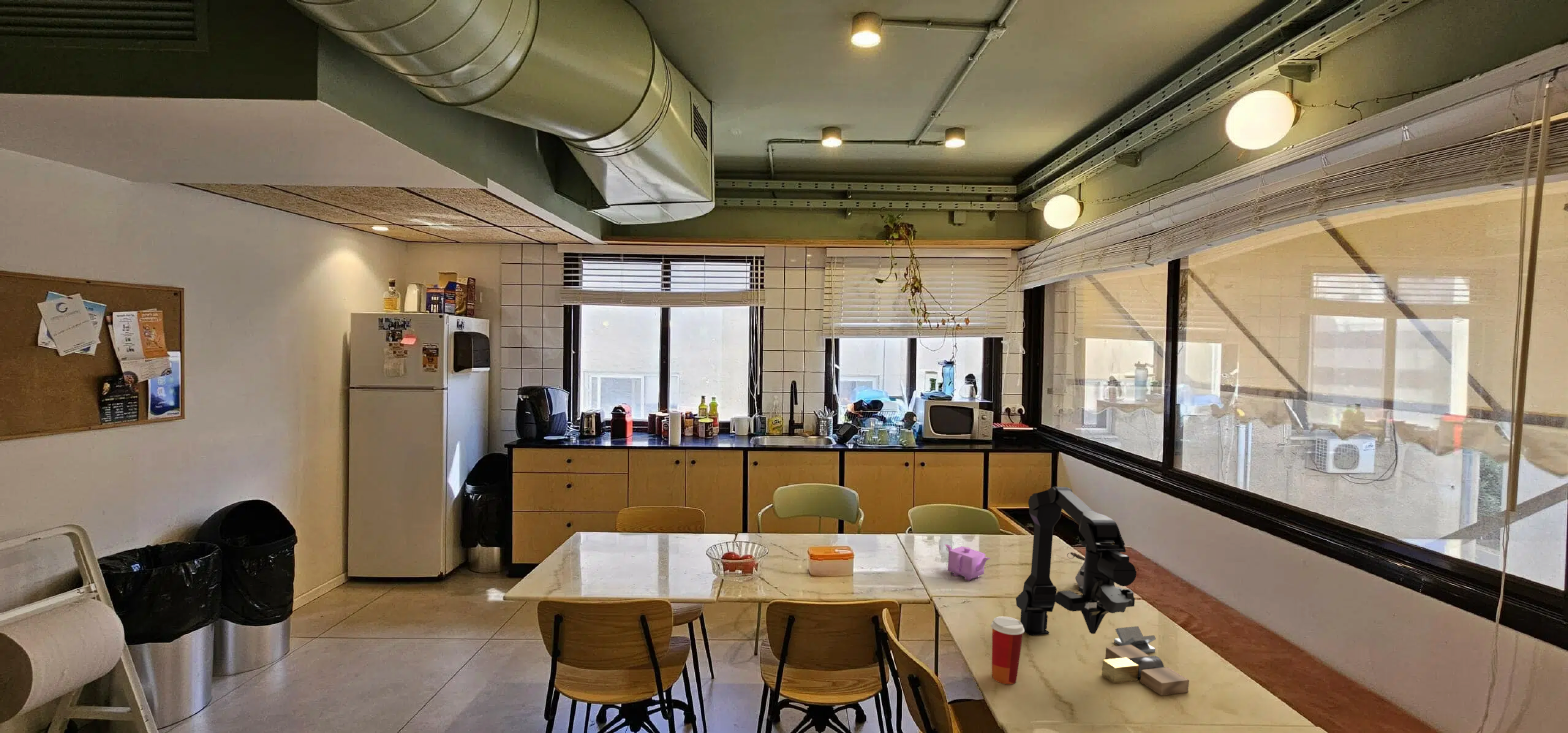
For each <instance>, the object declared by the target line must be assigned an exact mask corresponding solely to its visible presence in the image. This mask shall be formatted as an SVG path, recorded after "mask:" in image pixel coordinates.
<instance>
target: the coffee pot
mask: <svg viewBox="0 0 1568 733" xmlns="http://www.w3.org/2000/svg"><path fill="white" fill-rule="evenodd" d="M1069 554H1070V555H1071V556H1072V557H1069ZM1066 557H1067V558H1068V559H1071V560H1072V559H1074V558H1076V559H1078V560H1081V561H1084V562H1083V563H1082V565H1081V567H1080V569H1079V570H1078V571H1077V573H1076V575H1075V578H1074V579H1075V582H1076V584H1077V585H1078V587H1083V578H1084V576H1082V575H1080V570H1084V564H1085V556H1082V555H1080V554H1077V553H1076V552H1068V553H1067V555H1066Z"/></svg>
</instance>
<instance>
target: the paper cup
mask: <svg viewBox="0 0 1568 733" xmlns="http://www.w3.org/2000/svg"><path fill="white" fill-rule="evenodd" d="M990 628H991V630H992V632H991V634H992V636H991V638H992V639H991V675H992V676H991V677H992V679H993V680H994V681H996V682H998V683H1000V684H1002V685H1014V684H1015V683H1016V682H1017V679H1018V671H1019V664H1020V660H1021V659H1020V658H1021V650H1022V643H1023V636H1024V635H1023V634H1024V633H1025V632H1024V631H1025V630H1024V628H1023V625H1022V623H1021V622H1020V620H1019V619H1016V618H1015V617H1011V616H1006V615H1004V616H1002V615H1001V616H996V617H994V619H993V620H992V622H991V623H990Z"/></svg>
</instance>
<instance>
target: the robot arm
mask: <svg viewBox="0 0 1568 733" xmlns="http://www.w3.org/2000/svg"><path fill="white" fill-rule="evenodd" d="M1027 500H1028V514H1029V515H1030V518H1031V519H1032V521H1033V524H1034V525H1033V526H1034V528H1033V541H1032V554H1031V570H1030V574H1029V576H1028V577H1027V578H1026V579H1025V581H1024V583H1023V587H1022V591H1021V592H1020V593H1019V595H1017V596H1016V597H1015V602H1016V604H1015V605H1016V607H1017V608H1019V609H1020V620H1019V621H1020V622H1021V623H1022V625H1023V628H1024V630H1025V631H1024V633H1025V634H1026V635H1028V636H1030V637H1031V636H1042V635H1050V631H1048V630H1047V629H1048V617H1049V616H1048V614H1047V613H1048V612H1049V613H1052V612H1053V610H1054V607H1055V605H1056V604H1058V605H1059V606H1061V607H1063V608H1064V609H1065V610H1067V611H1068V612H1069V611H1070V612H1079V611H1080V612H1081V614H1082V616H1083V620H1084V622H1085V625H1086V627H1087V629H1088V631H1089V633H1090V634H1091V635H1094V634H1096V633H1097V632H1098V629H1099V628H1100V625H1101V624H1102V621H1103V619H1104V618H1105V616H1106V614H1108V613H1110V614H1116V613H1124V612H1126V609H1127V608H1130V607H1131V608H1132V607H1135V602H1136V601H1135V600H1136V598H1135V597H1134V591H1133V590H1131V589H1130V588H1122V587H1127V586H1129V585H1131V584H1133V583H1134V582H1135V580H1136V578H1137V574H1138V573H1137V571H1136V567H1135V565H1134V564H1133V563H1131V562H1130V556H1128V555H1127V554H1123V553H1126V551H1127V550H1126V544H1125V542H1124V541H1125V540H1124V539H1123V537H1122V533H1121V532H1120V531H1121V530H1120V528H1119V526H1118V523H1117V522H1116V521H1115V520H1114V519H1112V518H1111V517H1109V516H1107V515H1106V514H1103V513H1099V512H1096V511H1094V510H1093V509H1092V508H1091V507H1089V506H1088V505H1087V504H1086V503H1085V502H1084V501H1083V500H1082V499H1081V498H1080V497H1078V496H1077V495H1076V494H1075V493H1074V492H1073V490H1072V488H1070V487H1068V486H1052V487H1050V488H1048V489H1046V490H1042V491H1039V492H1035V493H1033V494H1031V495H1030V496H1029V498H1028V499H1027ZM1062 511H1064V512H1065V513H1066V514H1067V515H1068V516H1070V518H1071V519H1072V520H1073V521H1074V522H1076V523H1077V525H1078V527H1079V528H1078V532H1079V533H1080V535H1081V536H1082V537H1083V539H1084V541H1082V542H1081V543H1080V545H1081V546H1082V547H1084V548H1085V550H1084V551H1085V552H1084V555H1085V556H1084V558H1085V564H1084V570H1080V569H1079V570H1080V575H1082V576H1084V578H1083V587H1080V586H1078V592H1079V593H1082V594H1077V593H1075V592H1074V591H1072V590H1069V589H1068V590H1059V591H1058V589H1057V586H1056V585H1054V583H1053V581H1052V579H1051V565H1052V550H1053V538H1054V536H1053V535H1054V527H1055V525H1056V524H1057V523H1058V521H1059V520H1060V519H1061V515H1062ZM1115 584H1116V585H1118V586H1115Z"/></svg>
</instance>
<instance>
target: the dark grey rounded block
mask: <svg viewBox="0 0 1568 733" xmlns="http://www.w3.org/2000/svg"><path fill="white" fill-rule="evenodd" d="M1130 660H1131V661H1133V662H1134V663H1136V664H1137V665H1139V667H1138V678H1141V670H1145V669H1154V668H1163V667H1165V665H1164V663H1163V661H1162V659H1161V658H1160V657H1158V656H1156V655H1149V656H1148V657H1139V658H1130Z"/></svg>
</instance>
